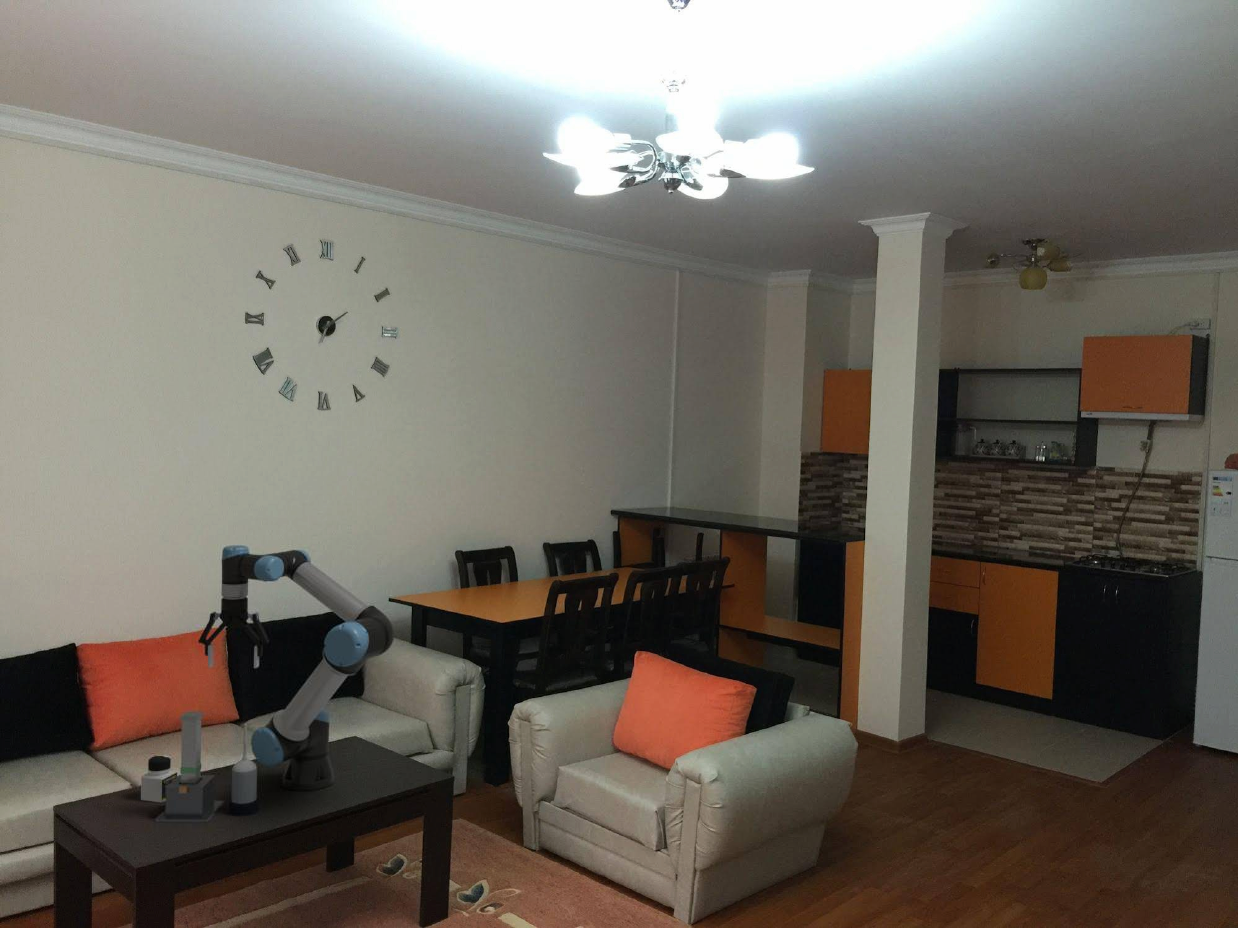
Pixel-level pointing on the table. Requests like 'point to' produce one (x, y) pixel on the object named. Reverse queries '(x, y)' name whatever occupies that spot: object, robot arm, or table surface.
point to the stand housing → (190, 801)
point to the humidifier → (244, 785)
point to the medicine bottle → (157, 779)
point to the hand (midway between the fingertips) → (233, 666)
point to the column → (191, 748)
